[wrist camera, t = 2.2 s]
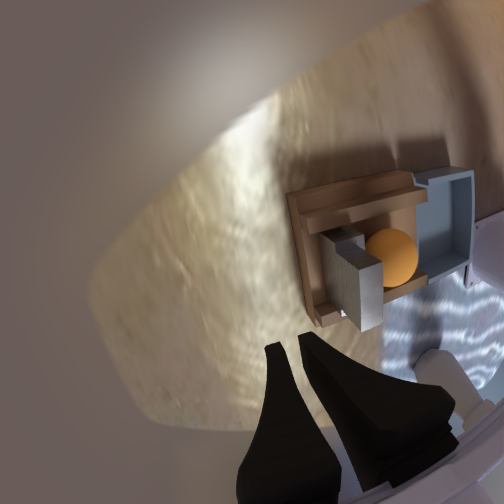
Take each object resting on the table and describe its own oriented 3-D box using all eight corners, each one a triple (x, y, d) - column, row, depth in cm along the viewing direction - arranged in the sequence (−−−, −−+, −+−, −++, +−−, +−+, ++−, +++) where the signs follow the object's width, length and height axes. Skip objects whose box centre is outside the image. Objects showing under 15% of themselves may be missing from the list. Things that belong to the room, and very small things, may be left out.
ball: (394, 216, 19) (429, 230, 16) (396, 264, 21) (427, 285, 17) (349, 229, 19) (382, 247, 15) (354, 280, 20) (383, 305, 17)
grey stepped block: (344, 224, 18) (390, 248, 14) (350, 290, 20) (389, 327, 15) (317, 231, 18) (358, 259, 13) (326, 299, 20) (361, 340, 15)
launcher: (397, 170, 20) (426, 174, 17) (402, 278, 24) (425, 295, 21) (285, 194, 19) (303, 202, 16) (307, 314, 23) (323, 338, 20)
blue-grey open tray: (450, 166, 21) (473, 170, 18) (451, 252, 24) (471, 262, 22) (399, 175, 20) (423, 180, 18) (404, 273, 24) (424, 286, 21)
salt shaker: (406, 361, 28) (470, 433, 16) (441, 333, 28) (508, 394, 16) (410, 385, 30) (463, 449, 18) (441, 359, 30) (498, 416, 18)
